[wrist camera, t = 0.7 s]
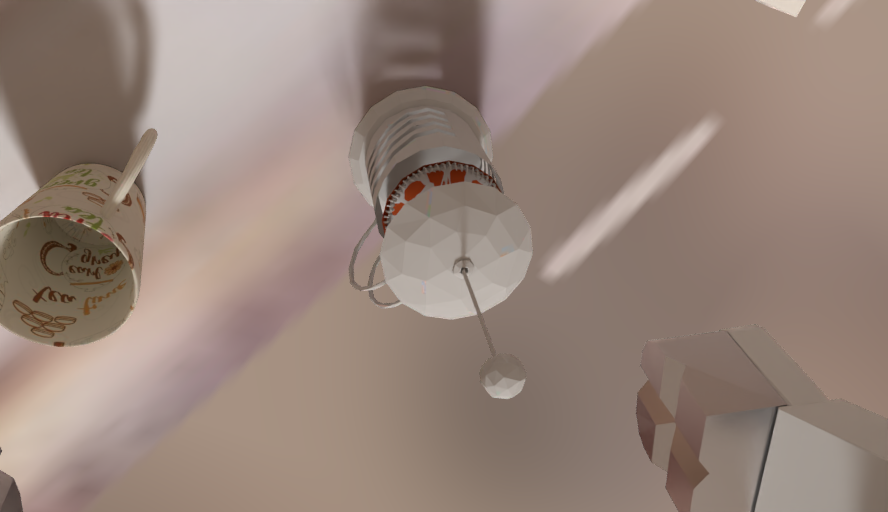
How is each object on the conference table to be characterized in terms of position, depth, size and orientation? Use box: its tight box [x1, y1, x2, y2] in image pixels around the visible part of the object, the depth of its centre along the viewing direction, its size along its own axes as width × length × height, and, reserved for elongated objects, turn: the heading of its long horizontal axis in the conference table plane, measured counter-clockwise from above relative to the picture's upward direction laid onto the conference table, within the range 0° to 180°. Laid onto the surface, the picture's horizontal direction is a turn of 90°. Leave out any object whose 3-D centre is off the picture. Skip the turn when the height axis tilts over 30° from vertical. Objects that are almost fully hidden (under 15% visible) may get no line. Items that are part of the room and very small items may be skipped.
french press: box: [349, 86, 533, 399], centre depth 42 cm, size 10×12×25 cm
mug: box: [0, 128, 157, 347], centre depth 46 cm, size 8×13×10 cm, turn 142°
